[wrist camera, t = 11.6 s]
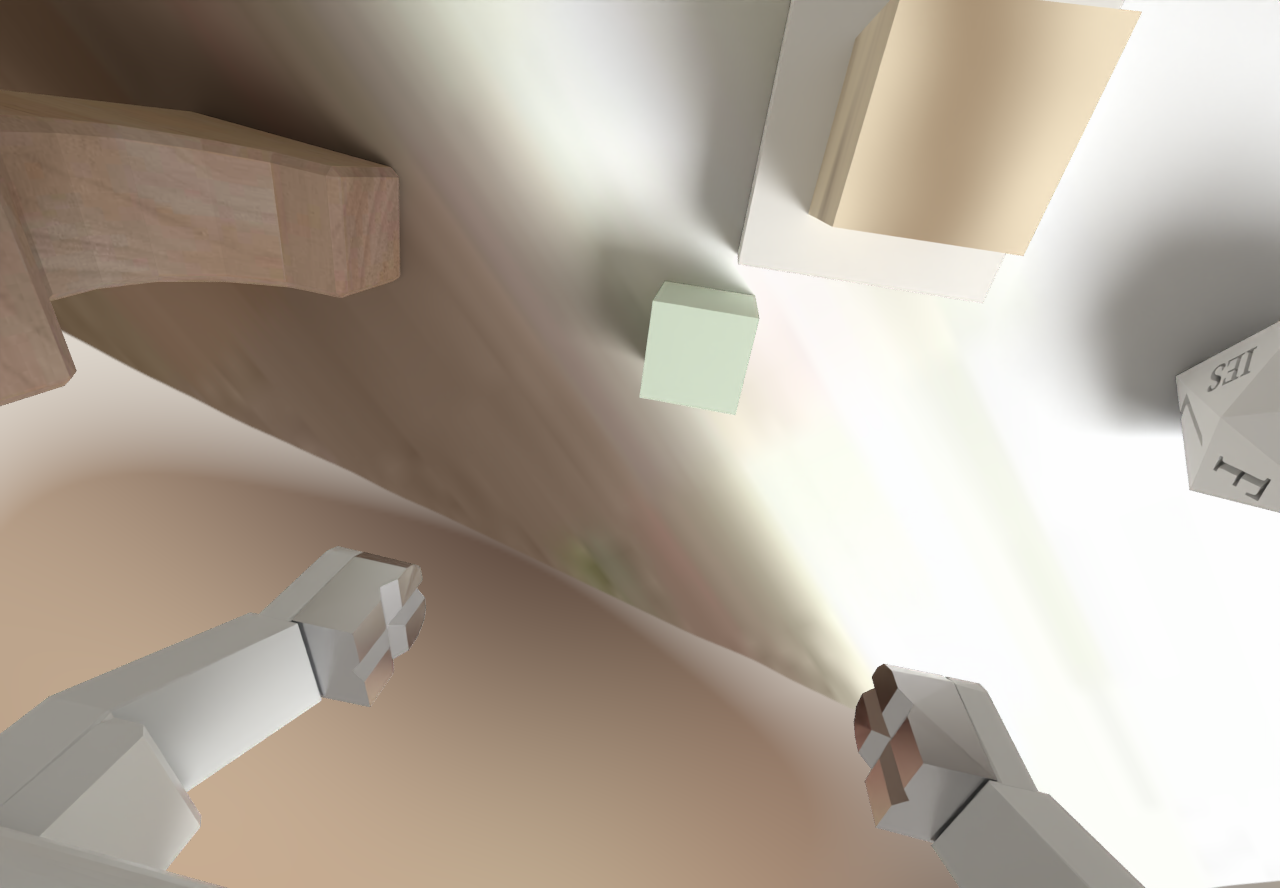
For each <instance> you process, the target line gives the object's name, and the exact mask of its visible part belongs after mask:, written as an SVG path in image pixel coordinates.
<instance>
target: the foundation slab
mask: <svg viewBox="0 0 1280 888" xmlns="http://www.w3.org/2000/svg"><path fill="white" fill-rule="evenodd" d="M889 1H890V0H791V4H790V8H789V13H788V18H787V23H786V27H785V32H784V37H783V42H782V46H781V51H780V56H779V61H778V65H777V70H776V75H775V79H774V84H773V89H772V94H771V98H770V103H769V108H768V113H767V117H766V122H765V127H764V132H763V136H762V141H761V146H760V151H759V155H758V160H757V165H756V170H755V174H754V179H753V184H752V189H751V193H750V198H749V203H748V207H747V212H746V217H745V222H744V226H743V231H742V236H741V241H740V245H739V250H738V264H739V265H745V266H751V267H757V268H764V269H770V270H776V271H783V272H789V273H795V274H802V275H808V276H814V277H821V278H827V279H833V280H839V281H846V282H852V283H858V284H865V285H871V286H877V287H884V288H890V289H896V290H902V291H909V292H915V293H921V294H928V295H934V296H940V297H947V298H953V299H959V300H965V301H972V302H978V303H983V302H984V300H985V298H986V296H987V294H988V291H989V289H990V287H991V285H992V283H993V281H994V279H995V276H996V274H997V272H998V270H999V268H1000V266H1001V264H1002V261H1003V259H1004V257H1005V255H1006V253H1000V252H994V251H987V250H981V249H974V248H968V247H961V246H954V245H948V244H941V243H935V242H928V241H922V240H915V239H908V238H902V237H895V236H889V235H882V234H876V233H869V232H862V231H856V230H849V229H843V228H836V227H832V226H830V225H828V224H826V223H824V222H822V221H820V220H819V219H817V218H815V217H813V216H811V215H809V214H808V213H809V209H810V205H811V201H812V198H813V194H814V190H815V187H816V183H817V179H818V176H819V172H820V168H821V164H822V161H823V157H824V153H825V150H826V146H827V142H828V138H829V135H830V131H831V127H832V124H833V120H834V116H835V112H836V109H837V105H838V101H839V98H840V94H841V90H842V87H843V83H844V79H845V75H846V72H847V68H848V64H849V61H850V57H851V53H852V49H853V46H854V42H855V38H856V37H857V36H858V35H859V34H860V33H861V32H862V31H863V29H864V28H865V27H866V26H867V25H868V24H869V23H870V22H871V21H872V20H873V19H874V17H875V16H876V15H877V14H878V13H879V12H880V11H881V10H882V9H883V8H884V6H885V5H886V4H887V3H888V2H889ZM1043 1H1051V2H1060V3H1069V4H1078V5H1087V6H1096V7H1105V8H1114V9H1121V7H1122V4H1123V2H1124V0H1043Z"/></svg>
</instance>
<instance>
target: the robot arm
mask: <svg viewBox="0 0 1280 888" xmlns="http://www.w3.org/2000/svg"><path fill="white" fill-rule="evenodd" d="M421 581H422V574H421V569H420V566H418V565H415V564H411V563H407V562H403V561H399V560H395V559H391V558H386V557H382V556H378V555H374V554H370V553H366V552H361V551H356V550H352V549H348V548H343V547H339V546H337V547H335V548H332V549H330V550H328V551H327V552H325V553H324V554H323V555H322V556H321V557H320V558H319V559H318V560H317V561H315V562H314V563H313V564H312V565H311V566H310V567H309V568H308V569H307V570H306V571H305V572H304V573H302V575H300V576H299V577H298V578H297V579H296V580H295V581H294V582H293V583H292V584H291V585H290V586H288V587H287V588H286V589H285V590H284V591H283V592H282V593H281V594H280V595H279V596H278V597H277V598H276V599H274V600H273V601H272V602H271V603H270V604H269V605H268V606H267V607H266V608H265V609H264V610H263V611H262V612H260V613H259V614H256V613H248V614H245V615H243V616H241V617H238V618H236V619H233V620H231V621H229V622H226V623H224V624H222V625H220V626H217V627H215V628H212V629H210V630H207V631H205V632H202V633H200V634H198V635H195V636H193V637H190V638H188V639H186V640H183V641H181V642H179V643H176V644H174V645H171V646H169V647H166V648H164V649H162V650H160V651H157V652H155V653H152V654H150V655H147V656H145V657H143V658H140V659H138V660H135V661H133V662H131V663H128V664H126V665H123V666H121V667H119V668H116V669H114V670H112V671H109V672H107V673H104V674H102V675H99V676H97V677H95V678H92V679H90V680H88V681H85V682H83V683H80V684H78V685H76V686H73V687H71V688H69V689H66V690H64V691H61V692H59V693H56V694H54V695H52V696H50V697H48V698H46V699H45V700H44V701H43V702H41V703H40V704H39V705H37V706H36V707H35V708H33V709H32V710H31V711H29V712H28V713H27V714H25V715H24V716H23V717H22V718H20V719H19V720H18V721H16V722H15V723H14V724H12V725H11V726H10V727H9V728H7V729H6V730H5V731H3V732H2V733H1V734H0V888H226V887H223V886H219V885H215V884H212V883H208V882H204V881H201V880H197V879H193V878H190V877H186V876H182V875H179V874H175V873H171V872H167V871H166V869H167V868H168V867H169V866H170V864H171V863H172V862H173V861H174V859H175V858H176V857H177V856H178V854H179V853H180V852H181V851H182V849H183V848H184V847H185V845H186V844H187V843H188V841H189V840H190V839H191V838H192V837H193V835H194V834H195V833H196V831H197V830H198V829H199V828H200V826H201V814H200V813H199V811H198V810H197V808H196V807H195V805H194V803H193V802H192V800H191V799H190V797H189V795H188V794H187V792H188V791H189V790H190V789H192V788H193V787H195V786H196V785H198V784H199V783H201V782H202V781H204V780H205V779H207V778H208V777H210V776H211V775H213V774H214V773H215V772H217V771H218V770H220V769H221V768H223V767H224V766H226V765H227V764H229V763H230V762H231V761H233V760H235V759H236V758H238V757H239V756H240V755H242V754H243V753H245V752H246V751H248V750H249V749H251V748H252V747H254V746H255V745H257V744H258V743H260V742H261V741H263V740H264V739H265V738H267V737H268V736H270V735H271V734H273V733H274V732H276V731H277V730H279V729H280V728H282V727H283V726H285V725H286V724H287V723H289V722H290V721H292V720H293V719H295V718H296V717H298V716H299V715H301V714H302V713H303V712H305V711H307V710H308V709H310V708H311V707H312V706H314V705H315V704H317V703H318V702H320V701H321V697H324V698H329V699H333V700H338V701H343V702H348V703H353V704H358V705H363V706H368V707H371V705H372V704H373V702H374V701H375V699H376V698H377V696H378V695H379V694H380V692H381V690H382V689H383V688H384V686H385V685H386V683H387V682H388V680H389V679H390V677H391V676H392V674H393V673H394V664H393V659H394V658H396V657H398V656H399V655H401V654H403V653H405V652H406V651H408V650H409V649H410V648H411V646H412V644H413V643H414V641H415V640H416V638H417V637H418V635H419V632H420V629H421V627H422V624H423V621H424V618H425V611H426V604H425V597H424V596H423V595H422V594H421V593H420V592H419V590H418V589H417V587H418V586H419V584H420V583H421ZM872 680H873V684H874V687H875V688H874V689H871V690H869V691H867V692H865V693H863V694H862V695H861V697H860V699H859V702H858V704H857V706H856V711H855V718H854V730H855V739H856V744H857V749H858V753H859V754H860V755H861V757H862V758H863V759H864V760H865V762H866V763H867V764H868V765H869V767H870V768H871V770H870V772H869V774H868V776H867V778H866V780H865V784H866V789H867V793H868V797H869V802H870V806H871V810H872V814H873V819H874V823H875V827H876V828H879V829H883V830H887V831H890V832H894V833H898V834H902V835H906V836H909V837H913V838H917V839H920V840H924V841H928V842H932V843H933V844H932V845H931V846H932V847H933V849H934V850H935V852H936V853H937V855H938V856H939V858H940V859H941V861H942V862H943V864H944V865H945V866H946V868H947V870H948V871H949V873H950V874H951V876H952V877H953V879H954V880H955V881H956V883H957V884H958V886H959V888H1145V887H1144V886H1143V885H1142V884H1141V883H1140V882H1139V881H1138V880H1137V879H1136V878H1135V877H1134V876H1133V875H1132V874H1131V873H1130V872H1129V871H1128V870H1126V869H1125V868H1124V867H1123V866H1122V865H1121V864H1120V863H1119V862H1118V861H1117V860H1116V859H1115V858H1114V857H1113V856H1112V855H1111V854H1110V853H1109V852H1108V851H1107V850H1106V849H1105V848H1104V847H1103V846H1102V845H1101V844H1100V843H1099V842H1098V841H1097V840H1096V839H1095V838H1094V837H1093V836H1092V835H1090V834H1089V833H1088V832H1087V831H1086V830H1085V829H1084V828H1083V827H1082V826H1081V825H1080V824H1079V823H1078V822H1077V821H1076V820H1075V819H1074V818H1073V817H1072V816H1071V815H1070V814H1069V813H1068V812H1067V811H1066V810H1065V809H1064V808H1063V807H1062V806H1061V805H1060V804H1059V803H1058V802H1057V801H1056V800H1054V799H1053V798H1052V797H1051V796H1050V795H1049V794H1046V793H1042V792H1039V791H1038V790H1037V788H1036V786H1035V784H1034V782H1033V780H1032V778H1031V776H1030V774H1029V772H1028V770H1027V768H1026V766H1025V764H1024V762H1023V760H1022V759H1021V757H1020V755H1019V753H1018V751H1017V749H1016V747H1015V745H1014V743H1013V741H1012V739H1011V737H1010V735H1009V733H1008V731H1007V729H1006V727H1005V725H1004V723H1003V721H1002V719H1001V717H1000V715H999V714H998V712H997V710H996V708H995V706H994V704H993V702H992V700H991V698H990V696H989V694H988V692H987V691H986V690H985V689H984V688H983V687H982V686H981V685H980V684H979V683H974V682H969V681H964V680H960V679H955V678H950V677H944V676H942V675H937V674H932V673H928V672H923V671H918V670H913V669H908V668H903V667H898V666H893V665H888V664H883V665H881V666H879V667H877V669H876V671H875V672H874V674H873V676H872Z"/></svg>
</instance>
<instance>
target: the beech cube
mask: <svg viewBox="0 0 1280 888" xmlns="http://www.w3.org/2000/svg"><path fill="white" fill-rule="evenodd" d="M1141 13H1142V12H1140V11H1132V10H1123V9H1114V8H1105V7H1096V6H1087V5H1078V4H1069V3H1060V2H1051V1H1043V0H890V1H889V2H888V3H887V4H886V5H885V6H884V8H883V9H882V10H881V11H880V12H879V13H878V14H877V15H876V16H875V17H874V19H873V20H872V21H871V22H870V23H869V24H868V25H867V26H866V27H865V28H864V29H863V31H862V32H861V33H860V34H859V35H858V36H857V37H856V38H855V42H854V46H853V49H852V53H851V57H850V61H849V64H848V68H847V72H846V75H845V79H844V83H843V87H842V90H841V94H840V98H839V101H838V105H837V109H836V112H835V116H834V120H833V124H832V127H831V131H830V135H829V138H828V142H827V146H826V150H825V153H824V157H823V161H822V164H821V168H820V172H819V176H818V179H817V183H816V187H815V190H814V194H813V198H812V201H811V205H810V209H809V213H808V214H809V215H811V216H813V217H815V218H817V219H819V220H820V221H822V222H824V223H826V224H828V225H830V226H832V227H836V228H843V229H849V230H856V231H862V232H869V233H876V234H882V235H889V236H895V237H902V238H908V239H915V240H922V241H928V242H935V243H941V244H948V245H954V246H961V247H968V248H974V249H981V250H987V251H994V252H1000V253H1007V254H1013V255H1020V256H1024V253H1025V251H1026V249H1027V247H1028V245H1029V243H1030V241H1031V239H1032V237H1033V235H1034V233H1035V231H1036V229H1037V227H1038V225H1039V223H1040V221H1041V219H1042V216H1043V214H1044V212H1045V210H1046V208H1047V206H1048V204H1049V202H1050V200H1051V198H1052V196H1053V194H1054V192H1055V190H1056V188H1057V186H1058V184H1059V181H1060V179H1061V177H1062V175H1063V173H1064V171H1065V169H1066V167H1067V165H1068V163H1069V161H1070V159H1071V157H1072V155H1073V153H1074V151H1075V149H1076V147H1077V144H1078V142H1079V140H1080V138H1081V136H1082V134H1083V132H1084V130H1085V128H1086V126H1087V124H1088V122H1089V120H1090V118H1091V116H1092V114H1093V112H1094V110H1095V107H1096V105H1097V103H1098V101H1099V99H1100V97H1101V95H1102V93H1103V91H1104V89H1105V87H1106V85H1107V83H1108V81H1109V79H1110V77H1111V75H1112V73H1113V70H1114V68H1115V66H1116V64H1117V62H1118V60H1119V58H1120V56H1121V54H1122V52H1123V50H1124V48H1125V46H1126V44H1127V42H1128V40H1129V38H1130V36H1131V33H1132V31H1133V29H1134V27H1135V25H1136V23H1137V21H1138V19H1139V17H1140V15H1141Z"/></svg>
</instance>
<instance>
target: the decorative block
mask: <svg viewBox="0 0 1280 888" xmlns="http://www.w3.org/2000/svg"><path fill="white" fill-rule="evenodd" d="M398 277H400V230H399V177H398V176H397V174H396V173H395V171H394V170H393V169H392V167H389V166H385V165H382V164H378V163H374V162H371V161H367V160H364V159H360V158H357V157H353V156H349V155H346V154H342V153H339V152H335V151H332V150H328V149H325V148H321V147H317V146H314V145H310V144H307V143H303V142H300V141H296V140H292V139H289V138H285V137H282V136H278V135H274V134H271V133H267V132H264V131H260V130H257V129H253V128H249V127H246V126H242V125H239V124H235V123H231V122H228V121H224V120H221V119H217V118H213V117H210V116H206V115H203V114H199V113H195V112H191V111H182V110H174V109H165V108H156V107H148V106H139V105H130V104H122V103H113V102H104V101H95V100H87V99H78V98H69V97H61V96H52V95H43V94H34V93H25V92H17V91H8V90H0V406H2V405H6V404H9V403H12V402H15V401H18V400H21V399H24V398H28V397H30V396H34V395H37V394H40V393H43V392H46V391H50V390H53V389H56V388H59V387H62V386H65V384H66V383H67V382H68V381H69V380H70V379H71V378H72V377H73V375H74V374H75V372H76V369H75V365H74V363H73V360H72V357H71V355H70V352H69V350H68V347H67V344H66V342H65V339H64V336H63V334H62V331H61V328H60V326H59V323H58V320H57V318H56V315H55V312H54V310H53V307H52V304H51V302H50V301H52V300H56V299H60V298H64V297H68V296H72V295H75V294H79V293H83V292H87V291H91V290H95V289H100V288H108V287H117V286H125V285H133V284H141V283H149V282H235V283H246V284H258V285H270V286H282V287H291V288H296V289H301V290H306V291H311V292H315V293H320V294H325V295H330V296H335V297H340V298H342V297H345V296H348V295H352V294H355V293H358V292H361V291H364V290H367V289H370V288H374V287H377V286H380V285H383V284H386V283H389V282H392V281H395V280H396V279H397V278H398Z"/></svg>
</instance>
